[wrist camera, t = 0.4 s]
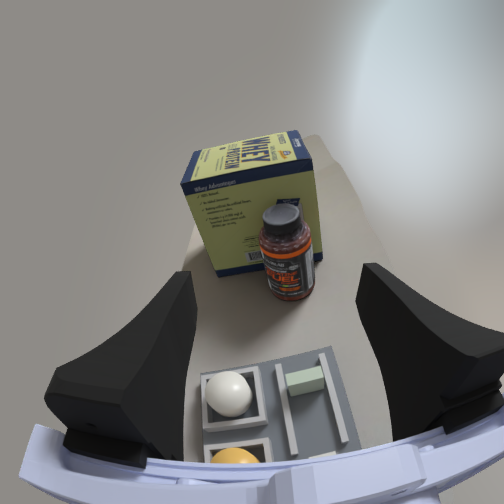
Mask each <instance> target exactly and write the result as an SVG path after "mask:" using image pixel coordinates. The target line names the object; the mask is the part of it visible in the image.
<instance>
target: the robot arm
mask: <svg viewBox="0 0 504 504" xmlns="http://www.w3.org/2000/svg"><path fill="white" fill-rule="evenodd" d="M355 301H356V305H357V309H358V313H359V316H360V320H361V322H362V325H363V327H364V329H365V332H366V334H367V337H368V339H369V341H370V344H371V346H372V348H373V351H374V353H375V356H376V358H377V361H378V364H379V366H380V370H381V373H382V377H383V381H384V385H385V390H386V395H387V400H388V405H389V411H390V418H391V425H392V436H393V442H391V443H387V444H384V445H380V446H375V447H371V448H367V449H362V450H358V451H353V452H348V453H343V454H337V455H331V456H325V457H318V458H310V459H302V460H293V461H282V462H267V463H236V464H227V463H196V462H184V456H183V419H184V398H185V384H186V376H187V371H188V366H189V361H190V356H191V351H192V346H193V341H194V336H195V331H196V321H197V304H196V299H195V294H194V288H193V283H192V277H191V271H180V272H175V274H174V275H173V276H172V277H171V278H170V279H169V280H168V282H167V283H166V284H165V285H164V286H163V288H162V289H161V290H160V291H159V292H158V293H157V295H156V296H155V297H154V298H153V299H152V300H151V301H150V302H149V304H148V305H147V306H146V307H145V308H144V309H143V310H142V311H141V312H140V313H139V314H138V315H137V316H136V317H135V318H134V319H133V320H132V321H131V322H129V323H128V324H127V325H126V326H125V327H124V328H122V329H121V330H120V331H119V332H117V333H116V334H115V335H113V336H112V337H110V338H109V339H108V340H106V341H105V342H104V343H102V344H101V345H99V346H98V347H96V348H94V349H93V350H91V351H89V352H88V353H86V354H84V355H83V356H80V357H79V358H77V359H75V360H73V361H70V362H68V363H66V364H64V365H62V366H60V367H57V368H56V370H55V372H54V375H53V377H52V379H51V382H50V384H49V386H48V388H47V391H46V393H45V396H44V400H45V402H46V404H47V406H48V408H49V409H50V410H51V411H52V412H53V413H54V415H56V417H57V418H58V419H59V420H60V421H62V423H63V424H64V425H65V426H66V427H67V428H68V429H67V432H66V435H65V434H64V433H61V432H60V431H57V430H55V429H52V428H48V427H45V426H42V425H39V424H35V426H34V429H33V432H32V434H31V437H30V440H29V443H28V446H27V449H26V453H25V456H24V459H23V463H22V466H21V469H20V473H19V477H20V479H22V480H23V481H25V482H27V483H28V484H30V485H32V486H34V487H35V488H37V489H39V490H41V491H43V492H45V493H47V494H49V495H51V496H53V497H54V498H57V499H59V500H62V501H64V502H67V503H69V504H441V502H440V499H439V495H438V493H440V492H443V491H445V490H447V489H449V488H451V487H453V486H455V485H457V484H459V483H461V482H463V481H464V480H466V479H468V478H470V477H472V476H474V475H475V474H477V473H479V472H480V471H482V470H484V469H486V468H487V467H489V466H491V465H492V464H494V463H495V462H497V461H499V460H500V459H502V458H503V457H504V393H503V394H501V393H500V391H499V389H500V388H501V387H502V384H501V382H500V380H499V379H500V377H501V376H502V375H503V373H504V333H503V332H499V331H495V330H492V329H488V328H485V327H482V326H480V325H477V324H474V323H472V322H469V321H467V320H465V319H462V318H460V317H458V316H456V315H454V314H452V313H450V312H448V311H446V310H445V309H443V308H441V307H439V306H438V305H436V304H434V303H433V302H431V301H429V300H428V299H426V298H425V297H423V296H422V295H420V294H419V293H417V292H416V291H415V290H413V289H412V288H410V287H409V286H408V285H406V284H405V283H404V282H402V281H401V280H400V279H398V278H397V277H396V276H394V275H393V274H392V273H390V272H389V271H388V270H386V269H385V268H383V267H382V266H380V265H379V264H377V263H364V264H363V268H362V273H361V278H360V282H359V287H358V291H357V296H356V300H355Z"/></svg>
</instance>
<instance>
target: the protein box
mask: <svg viewBox="0 0 504 504" xmlns="http://www.w3.org/2000/svg"><path fill="white" fill-rule="evenodd" d="M180 185H181V187H182V189H183V192H184V195H185V197H186V200H187V202H188V205H189V207H190V210H191V212H192V215H193V218H194V220H195V223H196V225H197V228H198V230H199V232H200V235H201V237H202V240H203V242H204V245H205V247H206V250H207V252H208V255H209V257H210V259H211V262H212V264H213V267H214V269H215V271H216V274H217V276H218V277H222V276H229V275H235V274H241V273H247V272H253V271H260V270H265V265H264V262H263V257H262V253H261V249H260V244H259V232H260V230H261V228H262V227H263V226H264V225H263V218H262V216H263V213H264V211H265V210H266V209H268V208H269V207H271V206H273V205H277V204H283V203H287V204H291V205H294V206H296V207H297V208H298V209H299V212H300V218H301V220H303V221H304V222H305V223H307V225H308V226H309V228H310V232H311V240H312V250H313V261H319V260H322V259H323V254H322V242H321V232H320V222H319V211H318V202H317V193H316V185H315V178H314V170H313V163H312V158H311V156H310V154H309V152H308V150H307V149H306V147H305V145H304V143H303V141H302V139H301V136H300V134H299V132H298V131H297V130H294V131H288V132H282V133H277V134H272V135H267V136H262V137H257V138H252V139H248V140H243V141H237V142H234V143H230V144H225V145H221V146H217V147H212V148H208V149H203V150H199V151H195V152H194V153H193V155H192V158H191V160H190V162H189V165H188V167H187V169H186V172H185V174H184V176H183V179H182V181H181V183H180Z"/></svg>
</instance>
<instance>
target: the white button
mask: <svg viewBox="0 0 504 504" xmlns="http://www.w3.org/2000/svg"><path fill="white" fill-rule="evenodd" d="M205 399H206V401H207V403H208V404H209V405H210V406H211V407H212V408H213V409H214V410H215V411H216V412H217V413H218V414H220V415H222V416H225V417H237V416H239V415H242V414H243V413H245V412H246V411H247V410H248V409H249V407H250V406H251V403H252V400H253V394H252V391H251V389H250V387H249V385H248V384H247V382H246V380H245V379H244V377H243V376H241V375H240V374H238V373H236V372H232V371H224V372H221V373H218V374H216V375H214V376H213V377H212V378H211V379H210V380H209V381H208V383H207V385H206V387H205Z"/></svg>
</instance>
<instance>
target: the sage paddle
mask: <svg viewBox="0 0 504 504" xmlns="http://www.w3.org/2000/svg"><path fill="white" fill-rule="evenodd" d="M285 376H286V381H287V386H288V389H289V392H290V395H291V397H292V396H297V395H301V394H305V393H310V392H314V391H317V390H321V389H324V376H323V372H322V369H321V366H317V367H314V368H310V369H306V370H301V371H297V372H293V373H289V374H285Z"/></svg>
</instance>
